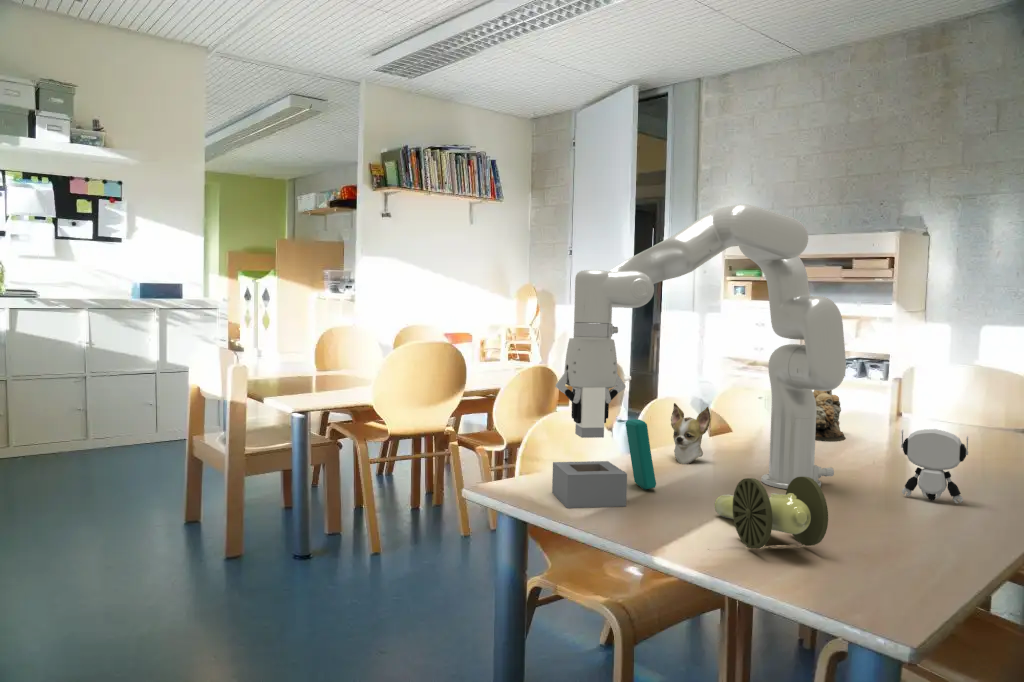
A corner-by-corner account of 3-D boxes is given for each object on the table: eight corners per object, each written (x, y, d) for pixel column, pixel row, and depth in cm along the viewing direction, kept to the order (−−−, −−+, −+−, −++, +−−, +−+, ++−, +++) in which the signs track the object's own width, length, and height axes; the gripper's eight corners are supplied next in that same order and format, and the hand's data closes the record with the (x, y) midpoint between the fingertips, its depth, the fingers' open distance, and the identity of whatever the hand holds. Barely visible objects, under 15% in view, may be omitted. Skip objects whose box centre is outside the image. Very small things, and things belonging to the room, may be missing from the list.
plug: (596, 433, 155) (598, 385, 155) (603, 437, 150) (605, 387, 150) (575, 433, 154) (576, 385, 154) (581, 437, 150) (583, 387, 149)
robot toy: (966, 502, 157) (970, 431, 157) (964, 507, 154) (968, 434, 153) (901, 493, 164) (904, 424, 164) (897, 497, 161) (901, 427, 160)
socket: (607, 491, 160) (607, 461, 160) (626, 506, 148) (627, 473, 148) (552, 492, 158) (552, 462, 157) (567, 508, 146) (567, 474, 146)
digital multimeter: (646, 492, 159) (659, 489, 160) (635, 422, 159) (648, 420, 160) (634, 486, 167) (646, 483, 167) (623, 420, 166) (636, 417, 167)
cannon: (694, 516, 142) (696, 457, 142) (751, 514, 145) (753, 455, 145) (767, 560, 118) (770, 488, 118) (834, 556, 121) (837, 486, 120)
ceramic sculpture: (658, 463, 190) (660, 404, 190) (675, 459, 197) (677, 401, 196) (697, 470, 183) (699, 409, 183) (713, 465, 190) (715, 406, 189)
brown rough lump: (841, 448, 218) (843, 389, 217) (798, 443, 225) (800, 386, 224) (851, 440, 233) (853, 385, 233) (811, 435, 240) (813, 382, 239)
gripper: (626, 332, 157) (623, 419, 158) (547, 330, 154) (544, 419, 154) (639, 333, 149) (636, 425, 150) (556, 331, 146) (553, 425, 147)
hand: (589, 421), depth 152 cm, fingers closed on plug, 4 cm apart
